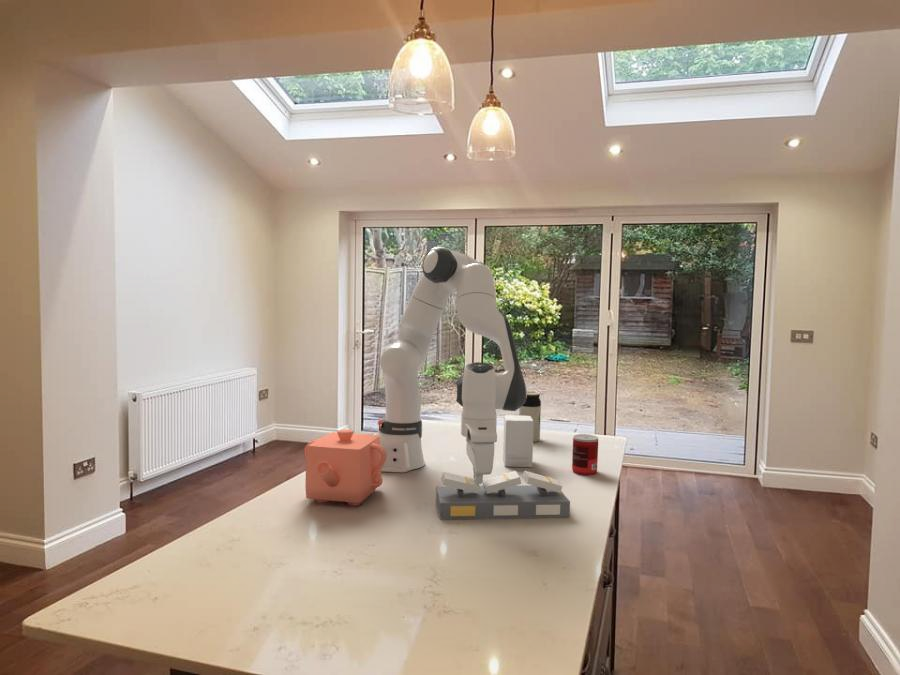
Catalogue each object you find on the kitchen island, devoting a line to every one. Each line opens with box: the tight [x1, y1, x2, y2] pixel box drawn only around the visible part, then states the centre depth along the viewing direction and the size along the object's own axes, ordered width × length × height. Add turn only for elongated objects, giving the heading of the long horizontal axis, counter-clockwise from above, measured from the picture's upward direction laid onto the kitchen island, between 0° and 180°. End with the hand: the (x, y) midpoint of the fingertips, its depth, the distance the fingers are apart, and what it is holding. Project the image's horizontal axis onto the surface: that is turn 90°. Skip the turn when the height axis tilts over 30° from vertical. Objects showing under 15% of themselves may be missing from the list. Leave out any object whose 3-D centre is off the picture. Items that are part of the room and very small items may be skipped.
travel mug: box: [518, 390, 542, 443], centre depth 235 cm, size 8×8×18 cm
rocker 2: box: [482, 470, 522, 494], centre depth 160 cm, size 9×6×2 cm, turn 95°
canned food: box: [571, 433, 599, 476], centre depth 195 cm, size 8×8×11 cm
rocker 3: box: [522, 470, 563, 493], centre depth 161 cm, size 9×6×2 cm, turn 96°
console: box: [435, 484, 571, 520], centre depth 160 cm, size 32×13×6 cm, turn 96°
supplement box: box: [502, 414, 534, 468], centre depth 203 cm, size 9×9×15 cm
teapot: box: [304, 428, 387, 506], centre depth 163 cm, size 25×23×18 cm
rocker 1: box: [440, 471, 481, 493], centre depth 159 cm, size 9×6×2 cm, turn 96°
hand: (478, 482), depth 159 cm, fingers closed, pressing on rocker 1
